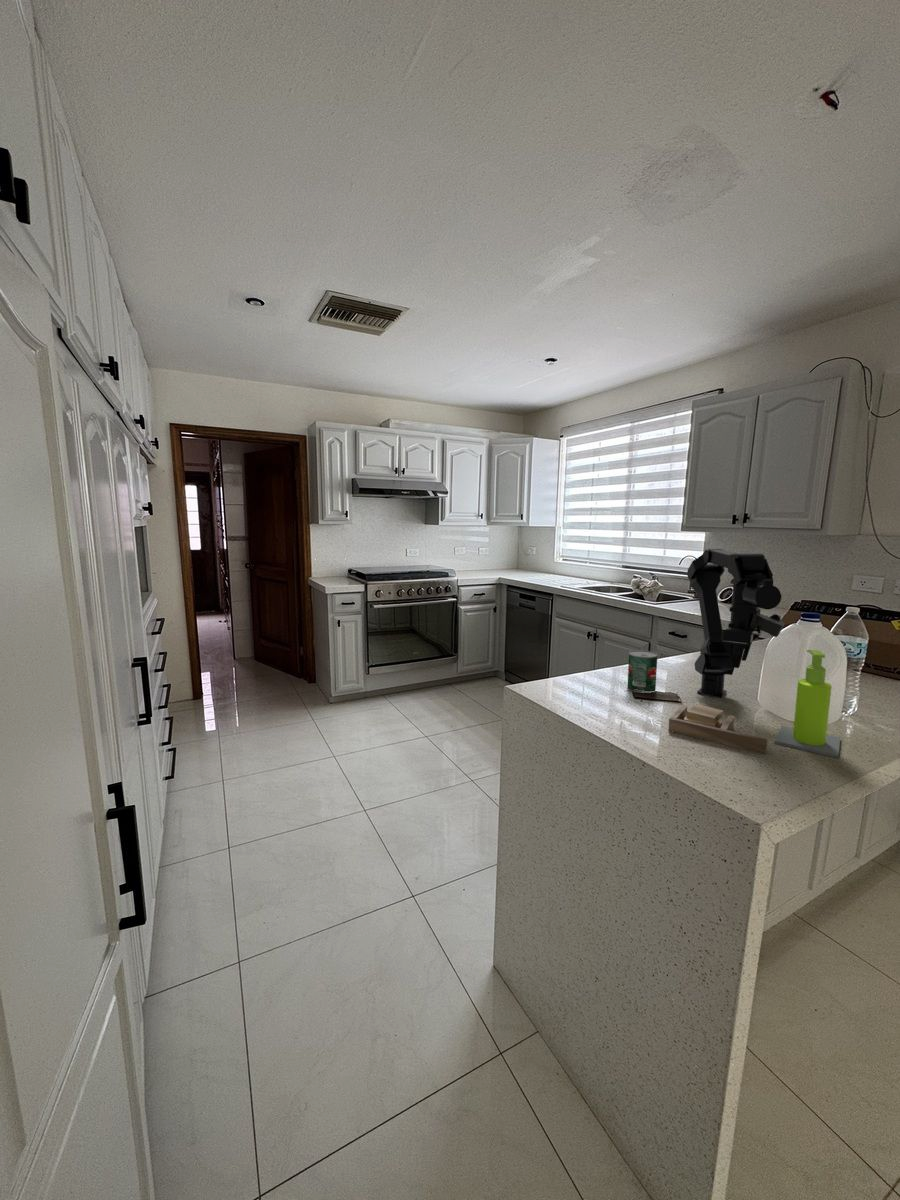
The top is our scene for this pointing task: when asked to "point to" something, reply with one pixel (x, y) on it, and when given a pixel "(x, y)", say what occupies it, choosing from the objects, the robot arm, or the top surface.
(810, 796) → the top surface
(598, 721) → the top surface
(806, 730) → the soap dispenser
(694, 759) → the top surface
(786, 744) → the slate mat
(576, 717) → the top surface
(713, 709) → the offcut stack
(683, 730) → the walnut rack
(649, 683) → the canned tomato
